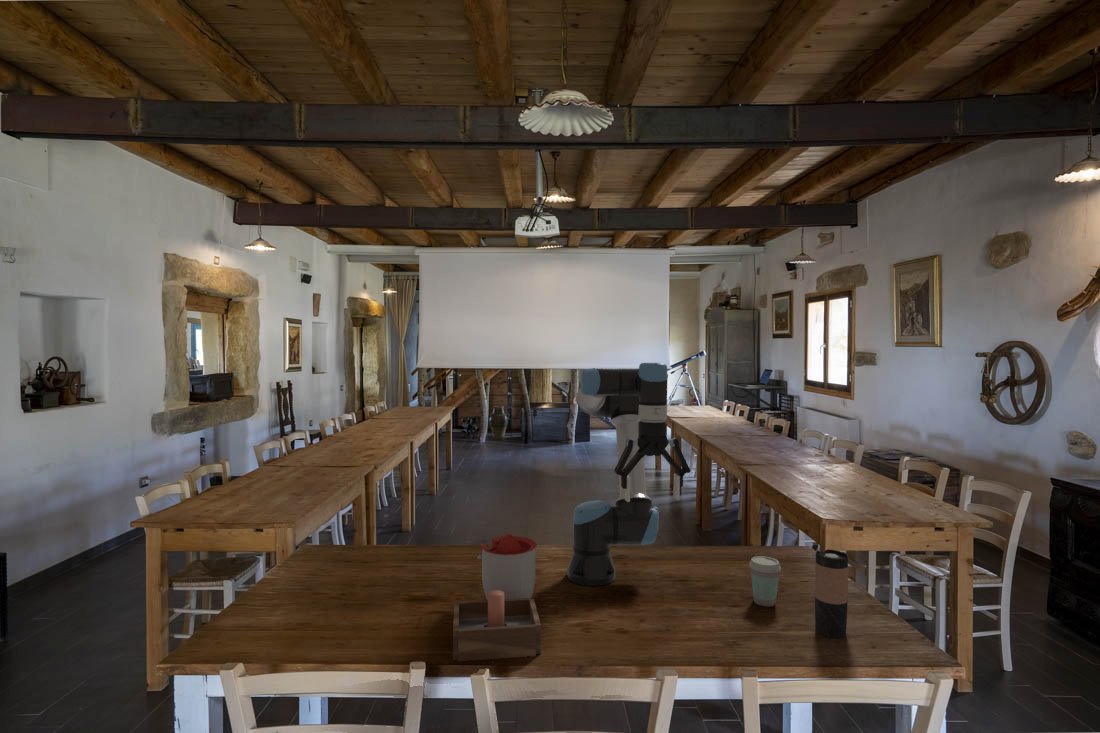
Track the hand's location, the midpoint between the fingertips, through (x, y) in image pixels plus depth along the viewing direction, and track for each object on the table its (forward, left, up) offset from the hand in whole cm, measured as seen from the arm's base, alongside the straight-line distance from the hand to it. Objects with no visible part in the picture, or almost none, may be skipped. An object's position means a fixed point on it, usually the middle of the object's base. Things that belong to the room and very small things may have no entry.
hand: (652, 500), depth 161 cm
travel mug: (+14, +43, -32) cm, 55 cm away
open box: (+8, -42, -32) cm, 53 cm away
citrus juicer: (-14, -38, -32) cm, 52 cm away
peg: (+8, -42, -32) cm, 53 cm away
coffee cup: (-5, +35, -32) cm, 48 cm away
